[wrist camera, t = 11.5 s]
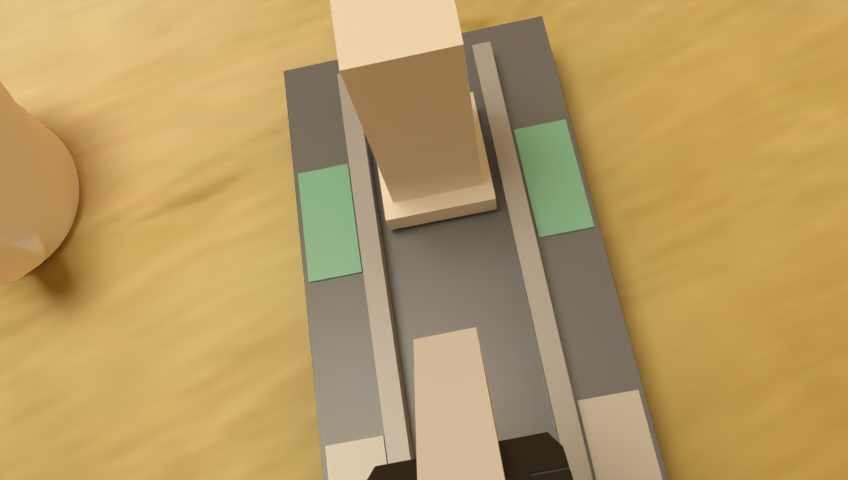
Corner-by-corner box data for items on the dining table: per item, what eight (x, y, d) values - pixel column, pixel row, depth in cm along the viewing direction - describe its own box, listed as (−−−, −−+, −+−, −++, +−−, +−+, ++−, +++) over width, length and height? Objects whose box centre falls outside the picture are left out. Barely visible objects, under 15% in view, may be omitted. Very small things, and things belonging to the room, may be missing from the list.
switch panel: (360, 648, 27) (334, 665, 24) (302, 106, 37) (277, 58, 33) (683, 595, 27) (708, 605, 23) (540, 56, 36) (542, 1, 32)
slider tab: (390, 230, 30) (327, 94, 21) (374, 125, 32) (311, -42, 23) (496, 209, 30) (482, 61, 20) (474, 105, 32) (451, -73, 22)
